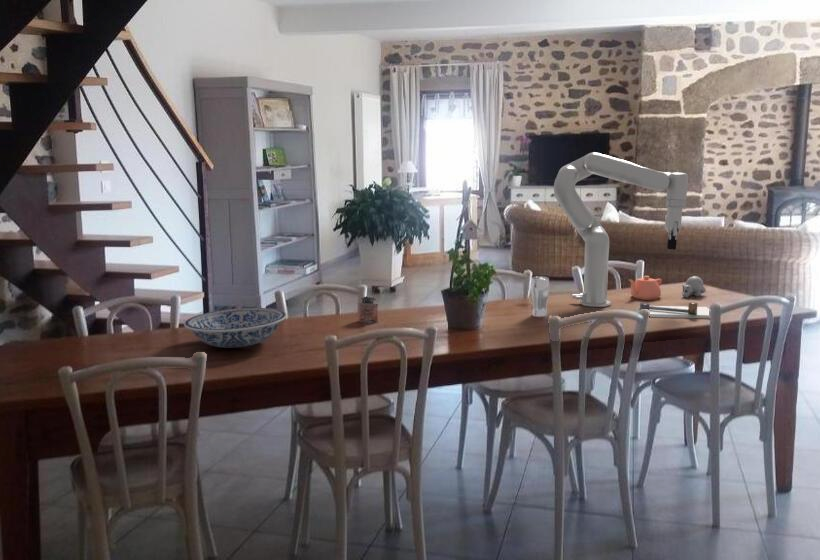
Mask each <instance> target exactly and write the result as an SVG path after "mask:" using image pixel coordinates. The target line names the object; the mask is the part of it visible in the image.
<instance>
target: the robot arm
mask: <svg viewBox="0 0 820 560" xmlns="http://www.w3.org/2000/svg"><path fill="white" fill-rule="evenodd" d="M591 175H592V176H593V175H597V176H600V177H603V178H608V179H610V180H615V181H617V182H620V183H624V184H629V185H634V186H638V187H642V188H645V189H649V190H651V191H654V192H655V191H656V192H663V191H665V190H666V199H665V208H667V210H666V215H665V224H664V231H666V232H667V233H668V236H667V237H668V239H667V243H666V244H667V245H666V246H667V247H666V249H668V250H676V249H677V241H678V240H677V239H678V233H680V232H681V228H682V227H681V226H682V219H683V209H686V204H687V195H688V183H689V175H688V174H687V173H686V172H665V171H658V170H655V169H651V168H648V167H645V166H641V165H638V164H636V163H633V162H631V161H628V160H624V159H620V158H617V157H613V156H611V155H607V154H602V153H600V152H595V151H593V152H589V153H587V154H585V155H584V156H582V157H580V158H578V159H576V160H574V161H571V162H570V163H567V164H565V165H563V166H562V167H561V168H560V169H559V170H558V172H557V175H556V177H555V179H554V183H553V193H554V196H555V197H554V198H555V199H556V202H557V203H558V204H559V206H560V207H561V209H562V211H563V212H564V213H565V215H566V217H567V218H568V219H569V221H570V223H571V226H573V228H575V230H576V231H577V233H578V234H579V235H580V237H581V238H582V240H583V241H584V272H583V273H584V274H583V276H584V277H583V291H582V293H580V294H577V293H573V294H572V299H575V300H579V304H580V305H581V306H584V307H591V308H605V307H609V306H610V305H611V303H612V302H611V300H609V299H608V283H609V282H608V279H609V277H608V276H609V274H608V273H609V255H610V237H609V235H608V233H607V231H606V230H605V228H604V227H603V226H602V224H601V222H600V221H599V220H598V218H597V217H596V215H595V214H594V213H593V211H592V209H590V207H588V206H587V205H586V204H585V203H584V201H583V200H582V198H581V196H580V195H579V194H578V192H577V190H576V184H577V182H581V181H582V180H584V179H586V178H588V177H591Z"/></svg>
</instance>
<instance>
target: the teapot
mask: <svg viewBox="0 0 820 560" xmlns="http://www.w3.org/2000/svg"><path fill="white" fill-rule="evenodd" d="M629 282H630V295H631V296H632V297H633V298H634V299H636V300H645V301H650V300H658V299H659V298H660V297H661V296H662V295H661V294H662V291H661V284H662V279H661V278H656V279H655V278H651V277H650V275H643V277H640V278H636V280H633V279H629Z"/></svg>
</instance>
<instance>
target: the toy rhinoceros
mask: <svg viewBox="0 0 820 560" xmlns="http://www.w3.org/2000/svg"><path fill="white" fill-rule="evenodd" d="M681 286H682V291H681V295H682V297H683V298H685V299H686V298H688V297H690V296H694V295H695V297H697V298H699V297H701V296H702V294H705V293H706V292H707V290H706V288H705V286H704V281H703V280H702V278H701V277H699V276H697V275H693V276H689V278H687V280H686V281H685V285H684V284H682V285H681Z"/></svg>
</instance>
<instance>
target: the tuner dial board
mask: <svg viewBox="0 0 820 560" xmlns="http://www.w3.org/2000/svg"><path fill="white" fill-rule="evenodd" d="M653 306H654V307H665V308H676V309H687V310H688V306H678V305H677V306H675V305H670V306H669V305H653ZM638 308H639V310H640V305H639V307H638ZM649 310H650V317H649V318H670V319H672V318H674V319H675V318H677V319H678V318H679V319H710V318H709V310H710V308H709V307H707V306H697V314H688V313H684V312H673V311H662V310H651V309H649Z"/></svg>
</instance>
